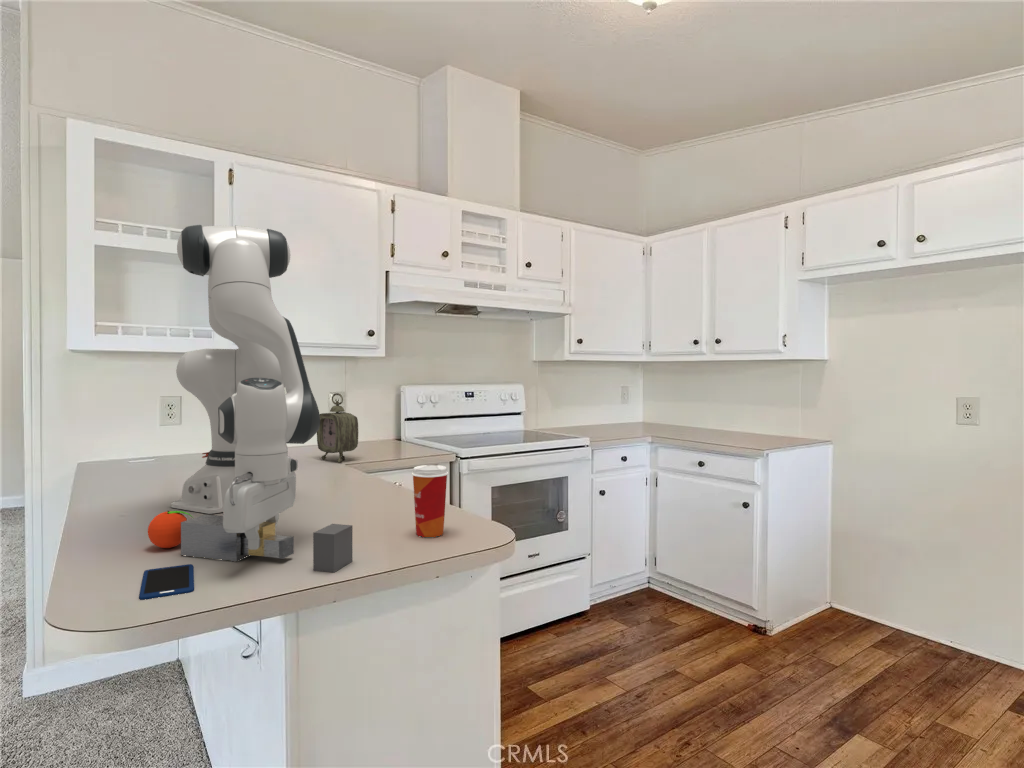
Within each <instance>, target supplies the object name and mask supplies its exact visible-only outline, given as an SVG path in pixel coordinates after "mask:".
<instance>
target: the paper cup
mask: <svg viewBox="0 0 1024 768" xmlns="http://www.w3.org/2000/svg"><path fill="white" fill-rule="evenodd" d="M410 475H411V476H412V481H413V482H412V483H413V499H414V500H413V501H414V519H415V534H416V536H417V535H418V536H417V537H419V536H422V537H421V538H423V537H434V538H437V537H436V536H439V537H441V536H443V535H444V528H445V518H446V517H445V515H446V514H445V513H446V497H447V495H446V494H447V482H448V475H449V472H448V470H447V467H446V466H445V465H439V464H437V465H435V464H430V465H428V464H425V465H418V466H415V467H413V469H412V472H411V474H410ZM442 534H443V535H442ZM440 535H441V536H440Z"/></svg>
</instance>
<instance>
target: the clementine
mask: <svg viewBox="0 0 1024 768" xmlns="http://www.w3.org/2000/svg"><path fill="white" fill-rule="evenodd" d="M184 514H185V515H187V516H190V517H191V519H193V518H194V516H193V515H191V514H190V513H188V512H185V511H182V510H167V511H163V512H160V513H158V514H157V515H155V516H154V518H153V519H152V520H151V521H150V522H149V525H148V527H147V536H148V539H149V540H150V542H151V543H152V544H153V545H154V546H156V547H158V548H161V549H172V548H174V547H177V546H178V545H179V546H180V545H181V522H184V521H187V520H188V519H187V517H186V516H185V515H184Z"/></svg>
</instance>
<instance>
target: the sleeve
mask: <svg viewBox="0 0 1024 768" xmlns="http://www.w3.org/2000/svg"><path fill="white" fill-rule="evenodd" d="M180 553H181V554H180V556H181V555H186V556H194V557H193V558H195V557H205V558H213V559H212V560H214V559H222V560H221V561H223V560H231V561H230V562H232V561H238V560H240V559H242V558H244V557H246V556H249V555H246V554H241V538H240V533H228V532H226V531H225V530H224V528H223V515H216V514H203V515H200V516H197V517H193V518H190V519H187V521H184V522H181V543H180ZM186 556H185V557H186ZM249 557H250V556H249ZM244 559H245V558H244ZM242 560H243V559H242ZM240 561H241V560H240ZM238 562H239V561H238Z"/></svg>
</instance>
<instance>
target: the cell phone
mask: <svg viewBox="0 0 1024 768" xmlns="http://www.w3.org/2000/svg"><path fill="white" fill-rule="evenodd" d="M194 573H195V571H194V564H191V563H190V564H189V563H188V564H181V565H180V564H179V565H173V566H171V565H170V566H164V567H157V568H151V569H146V570H144V572H143V574H142V579H141V580H142V581H141V584H140V590H139V595H138V600H139V599H140V600H139V601H147V600H152V598H153V599H157V598H158V597H160V598H166V597H172V595H173V596H178V594H179V595H185V593H186V594H189V593H193V592H194V591H195V574H194ZM145 599H146V600H145ZM158 599H159V598H158Z"/></svg>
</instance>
